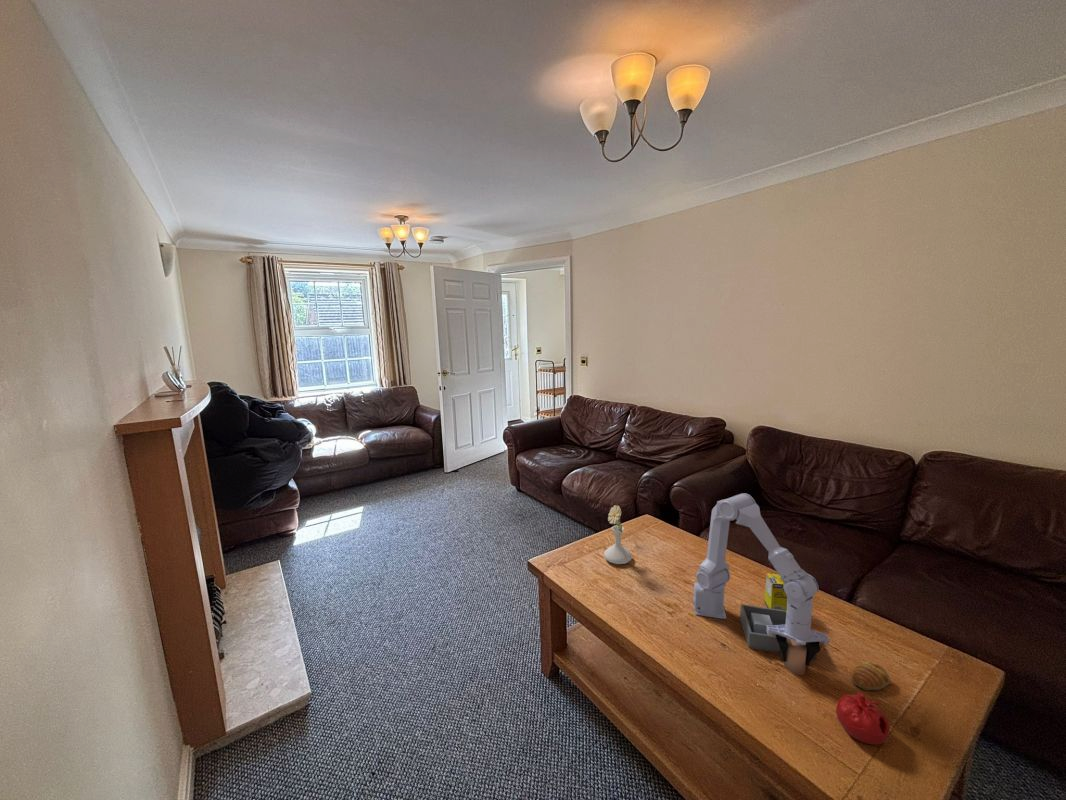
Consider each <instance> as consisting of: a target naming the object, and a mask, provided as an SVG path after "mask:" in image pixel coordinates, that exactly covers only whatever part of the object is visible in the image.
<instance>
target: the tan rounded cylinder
mask: <svg viewBox="0 0 1066 800" xmlns="http://www.w3.org/2000/svg"><path fill="white" fill-rule="evenodd" d="M787 643H788V649H787V653H786V662H783V666H784V668H785V669H786V670H787V671H788V672H790V673H791V674H794V675H798V676H799V675H803V674H805V672H806V654H807V647H806V645H801V644H798V643H797V642H796V641H794V640H792V639H787Z"/></svg>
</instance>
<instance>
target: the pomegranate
mask: <svg viewBox="0 0 1066 800" xmlns="http://www.w3.org/2000/svg"><path fill="white" fill-rule="evenodd" d="M856 692H857V694H842V693H841V695H842V696H841V697H840V698H839V699H838V700H837V704H836V709H835V713H836V717H837V720H838V722H839V723H840V725H841V726H842V727H843V729H844V730H845V731H846V732H847V734H848V735H850V736H851V738H854V739H855V740H857V741H860V742H862V743H865V744H867V745H881V744H883V743H885V742H886V741H887V739H888V735H889V734H890V729H891V728H890V727H891V726H890V723H889V720H888V718H887V717H886V715H885V714H884V713H883V712H882V710H881V709H880V708H879V707H878V706H876V705H880V702H877V701H875V700H873V701H871V700H869V699H868V698H867V697H866V695H865V694H864V693H860V692H859V691H858V690H856ZM875 704H876V705H875Z"/></svg>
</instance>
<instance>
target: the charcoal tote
mask: <svg viewBox="0 0 1066 800" xmlns="http://www.w3.org/2000/svg"><path fill="white" fill-rule="evenodd" d="M751 613H757V614H763V615H769V616H770V619H771V622H772V625H785V623H786V611H785V610H778V609H771V608H768V607H765V606H764V607H763V606H757V605H749V604H743V603H741V604H740V613H739V618H740V623H741V626H742V628H743V629H742V630H743V632H744V633H743V634H744V636H745V640H746V643H747V647H748V649H753V650H758V651H764V652H771V653H775V654H781V652H780V647H779V644H778V641H777V639H776V636H775V635H772V636H768V635H767V634H760V633H754V632H752V631H751V628H750V623H751ZM786 639H789V638H786ZM816 658H817V654H816V655H815V656H814V657H813V659H812V660H817V659H816Z"/></svg>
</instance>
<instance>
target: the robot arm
mask: <svg viewBox="0 0 1066 800" xmlns="http://www.w3.org/2000/svg"><path fill="white" fill-rule="evenodd" d="M760 508H761V507H760V506H759V505H758V503H756V500H755V499H754V497H752V496H751V494H748V493H747V492H746V493H743V492H742V493H739V494H736V495H733V496H731V497H728V498H725V499H721V500H717V501H716V504H715V506H714V507H713V508H712V509H711V515H710V523H709V524H710V525H709V533H708V543H707V551H706V558H705V559H704V560H703V562H702V563H701V564H700V565H699V569H698V571H697V572H696V575H695V576H696V577H695V578H696V581H697V582H694V583H693V598H692V602H693V603H692V604H693V607H694V614H695V615H696V616H702V617H709V618H715V619H722V620H726V619H727V615H726V610H725V605H724V604H725V589H726V588H725V587H726V586H727V582H728V583H729V581H730V580H731V573H730V570H729V569H730V568H729V567H730V565H729V563H728V562H727V561H726V555H727V546H728V537H729V531H730V522H731V521H735V520H736V521H735V524H736V525H739V526H744V527H746V528H749V529H750V530H751V531H752V533H753V534H754V536H756V538H757V539H758V541H760V543H761V545H762V546H763V547H764V548H765V549H766V551H767V552H768V556H767V558H768V561H769V562H770V564H771V565H772V566H773V569H774V570H775V571H776V572H777V574H779V575H780V577H781V578H782V580H783V581H784V583H785V585H783V587H784V591H785V593H786V595H787V611H786V623H785V625H767V629H766V631H767V634H768V636H772V635H775V636H776V639H777V641H778V644H779V647H780V652H781V653H780V657H781V661H782V662H783V663H784V662H786V653H787V649H788V643H787V639H786V638H789V639H792V640H794V641H796V642H797V643H798V644H801V645H806V647H807V654H806V665H805V667H809V666H810V665H811V662H812V661H813V660H814V659H813V657H814V656H815V655H816V656H817V654H818V653H820V652H821V650H822V648H821V645H820V643H821V644H823V645H824V646H830V645H829V644H830V638H829V636H828V633H823V632H818V631H817V630H814V629H811V627H812V617H813V603H814V596H816V594H818V592H819V584H818V582H817V580H816V578H815V577H814V576H813V575H811V574H809V573H808V572H806V571H805V570H804V569H803V568H801V566H800V565H799V563H798V562H797V561H796V559H795V558H794V557H795V556H794V555H793V554H792V553H791V552H790V551H789V549H788V548H785V547H782V546H781V545H780V544H779V542H778V540H777V539H776V538H775V536H774V534H773V533H772V531H771V529H770V528H769V526H768V525H767V523H766V522H765V520H764V518H763V517H762V514H761V510H760Z"/></svg>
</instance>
